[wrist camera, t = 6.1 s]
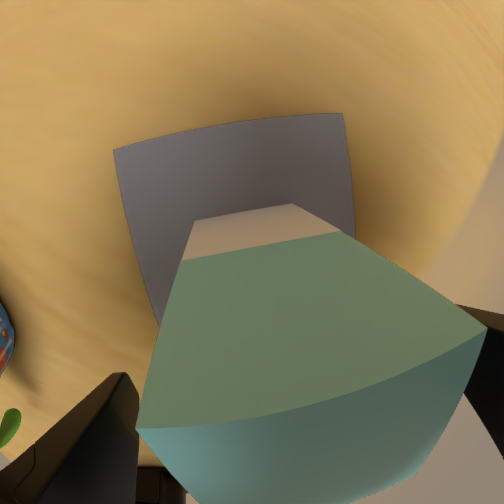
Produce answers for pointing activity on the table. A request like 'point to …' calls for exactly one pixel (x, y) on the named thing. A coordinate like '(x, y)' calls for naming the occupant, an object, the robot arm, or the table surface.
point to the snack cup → (3, 345)
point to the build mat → (229, 183)
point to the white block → (252, 230)
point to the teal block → (302, 373)
